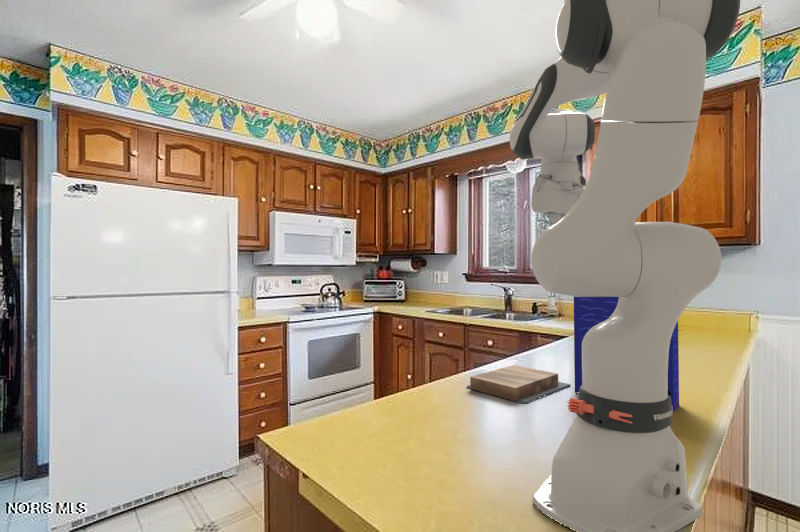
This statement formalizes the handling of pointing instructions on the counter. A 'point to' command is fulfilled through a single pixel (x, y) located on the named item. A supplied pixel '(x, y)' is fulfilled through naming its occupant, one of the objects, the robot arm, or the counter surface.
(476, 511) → the counter surface
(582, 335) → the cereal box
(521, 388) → the board
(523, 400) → the mat
